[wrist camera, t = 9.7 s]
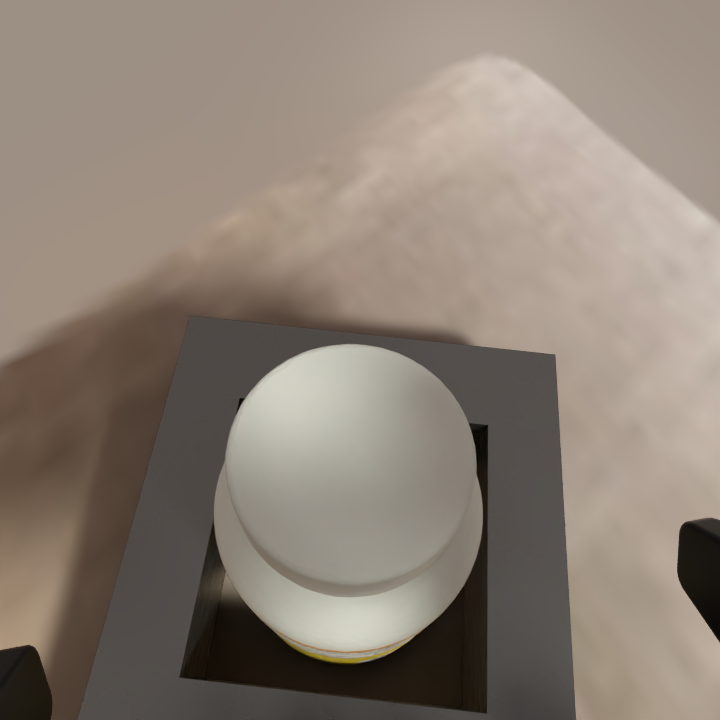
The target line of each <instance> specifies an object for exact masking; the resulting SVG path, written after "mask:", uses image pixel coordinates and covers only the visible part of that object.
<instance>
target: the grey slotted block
mask: <svg viewBox="0 0 720 720" xmlns="http://www.w3.org/2000/svg"><path fill="white" fill-rule="evenodd" d="M342 344H360V345H369V346H374V347H380V348H384V349H387V350H390V351H393V352H396V353H399V354H401V355H403V356H405V357H408V358H410V359H412V360H413V361H415V362H416V363H418V364H420V365H422V366H423V367H425V368H426V369H427V370H428V371H430V372H431V373H432V374H434V375H435V376H436V377H437V378H438V379H439V380H440V381H441V382H442V383H443V384H444V385H445V386H446V387H447V388H448V389H449V391H450V392H451V393H452V394H453V396H454V397H455V399H456V400H457V402H458V403H459V405H460V406H461V408H462V410H463V412H464V414H465V416H466V418H467V421H468V423H469V426H470V429H471V432H472V436H473V440H474V444H475V450H476V463H477V467H476V475H477V478H478V481H479V486H480V490H481V496H482V504H483V526H482V535H481V541H480V545H479V549H478V554H477V557H476V560H475V562H474V565H473V567H472V570H471V572H470V574H469V576H468V578H467V580H466V582H465V608H464V659H463V709H461V708H452V707H444V706H435V705H427V704H418V703H410V702H401V701H393V700H384V699H376V698H367V697H359V696H350V695H342V694H333V693H324V692H316V691H307V690H299V689H290V688H282V687H273V686H265V685H256V684H248V683H239V682H231V681H222V680H214V679H205V673H206V668H207V663H208V658H209V653H210V648H211V643H212V638H213V633H214V628H215V623H216V618H217V613H218V608H219V603H220V598H221V592H222V587H223V582H224V577H225V572H226V570H225V568H224V565H223V563H222V560H221V557H220V553H219V549H218V546H217V541H216V536H215V527H214V502H215V493H216V488H217V483H218V479H219V476H220V473H221V470H222V467H223V465H224V462H225V453H226V448H227V443H228V437H229V433H230V429H231V426H232V424H233V421H234V419H235V417H236V414H237V412H238V410H239V408H240V406H241V404H242V403H243V401H244V400H245V398H246V397H247V395H248V394H249V393H250V392H251V390H252V389H253V388H254V387H255V386H256V384H257V383H258V382H259V381H260V380H261V379H262V378H263V377H264V376H265V375H266V374H268V373H269V372H270V371H272V370H273V369H274V368H276V367H277V366H278V365H280V364H282V363H283V362H285V361H286V360H288V359H290V358H292V357H294V356H296V355H299V354H301V353H303V352H306V351H309V350H312V349H316V348H320V347H325V346H332V345H342ZM78 720H576V713H575V695H574V677H573V659H572V642H571V624H570V606H569V589H568V571H567V553H566V535H565V518H564V500H563V482H562V465H561V447H560V429H559V411H558V394H557V376H556V358H555V355H554V354H545V353H535V352H526V351H517V350H507V349H498V348H489V347H479V346H470V345H461V344H451V343H442V342H433V341H423V340H414V339H405V338H395V337H386V336H376V335H367V334H358V333H348V332H339V331H330V330H320V329H311V328H302V327H292V326H283V325H274V324H264V323H255V322H246V321H236V320H227V319H217V318H208V317H199V316H190V318H189V321H188V325H187V328H186V332H185V336H184V339H183V343H182V346H181V350H180V354H179V357H178V361H177V364H176V368H175V372H174V375H173V379H172V382H171V386H170V390H169V393H168V397H167V400H166V404H165V407H164V411H163V415H162V418H161V422H160V425H159V429H158V433H157V436H156V440H155V443H154V447H153V451H152V454H151V458H150V461H149V465H148V468H147V472H146V476H145V479H144V483H143V486H142V490H141V494H140V497H139V501H138V504H137V508H136V512H135V515H134V519H133V522H132V526H131V530H130V533H129V537H128V540H127V544H126V547H125V551H124V555H123V558H122V562H121V565H120V569H119V573H118V576H117V580H116V583H115V587H114V591H113V594H112V598H111V601H110V605H109V608H108V612H107V616H106V619H105V623H104V626H103V630H102V634H101V637H100V641H99V644H98V648H97V652H96V655H95V659H94V662H93V666H92V670H91V673H90V677H89V680H88V684H87V687H86V691H85V695H84V698H83V702H82V705H81V709H80V713H79V716H78Z"/></svg>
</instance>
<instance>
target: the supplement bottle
mask: <svg viewBox="0 0 720 720" xmlns="http://www.w3.org/2000/svg"><path fill="white" fill-rule="evenodd" d="M476 467H477V463H476V450H475V444H474V440H473V436H472V432H471V429H470V426H469V423H468V421H467V418H466V416H465V414H464V412H463V410H462V408H461V406H460V405H459V403H458V402H457V400H456V399H455V397H454V396H453V394H452V393H451V392H450V391H449V389H448V388H447V387H446V386H445V385H444V384H443V383H442V382H441V381H440V380H439V379H438V378H437V377H436V376H435V375H434V374H432V373H431V372H430V371H428V370H427V369H426V368H425V367H423V366H422V365H420V364H418V363H416V362H415V361H413V360H412V359H410V358H408V357H405V356H403V355H401V354H399V353H396V352H393V351H390V350H387V349H384V348H380V347H374V346H369V345H360V344H342V345H332V346H325V347H320V348H316V349H312V350H309V351H306V352H303V353H301V354H299V355H296V356H294V357H292V358H290V359H288V360H286V361H285V362H283V363H282V364H280V365H278V366H277V367H276V368H274V369H273V370H272V371H270V372H269V373H268V374H266V375H265V376H264V377H263V378H262V379H261V380H260V381H259V382H258V383H257V384H256V386H255V387H254V388H253V389H252V390H251V392H250V393H249V394H248V395H247V397H246V398H245V400H244V401H243V403H242V404H241V406H240V408H239V410H238V412H237V414H236V417H235V419H234V421H233V424H232V426H231V429H230V433H229V437H228V443H227V448H226V453H225V462H224V465H223V467H222V470H221V473H220V476H219V479H218V483H217V488H216V493H215V502H214V527H215V536H216V541H217V546H218V549H219V553H220V557H221V560H222V563H223V565H224V568H225V570H226V572H227V575H228V577H229V578H230V580H231V582H232V584H233V586H234V587H235V589H236V590H237V592H238V594H239V595H240V597H241V598H242V599H243V600H244V602H245V603H246V604H247V605H248V606H249V608H250V609H251V610H252V611H253V612H254V613H255V614H256V615H257V616H258V617H259V618H260V619H261V620H262V621H263V622H264V623H265V624H266V625H267V626H268V627H270V628H271V629H272V630H273V631H274V632H275V633H276V634H277V635H278V636H279V637H280V638H281V639H282V640H284V641H285V642H286V643H287V644H288V645H289V646H290V647H291V648H293V649H294V650H296V651H298V652H299V653H301V654H303V655H305V656H307V657H309V658H312V659H315V660H318V661H321V662H324V663H329V664H337V665H355V664H361V663H366V662H371V661H374V660H377V659H379V658H382V657H384V656H386V655H388V654H390V653H392V652H393V651H395V650H397V649H398V648H400V647H401V646H402V645H404V644H405V643H407V642H408V641H409V640H411V639H412V638H413V637H414V636H415V635H417V634H418V633H419V632H421V631H422V630H423V629H425V628H426V627H427V626H428V625H429V624H431V623H432V622H433V621H434V620H435V619H436V618H437V617H439V616H440V615H441V614H442V613H443V612H444V611H445V610H446V608H447V607H448V606H449V605H450V604H451V603H452V601H453V600H454V599H455V598H456V596H457V595H458V593H459V592H460V590H461V589H462V587H463V586H464V584H465V582H466V580H467V578H468V576H469V574H470V572H471V570H472V567H473V565H474V562H475V560H476V557H477V554H478V549H479V545H480V541H481V535H482V526H483V504H482V496H481V490H480V486H479V481H478V478H477V475H476Z"/></svg>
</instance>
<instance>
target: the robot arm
mask: <svg viewBox="0 0 720 720" xmlns="http://www.w3.org/2000/svg"><path fill="white" fill-rule="evenodd" d="M677 573H678V578H679V581H680V583H681V585H682V587H683V589H684V591H685V592H686V594H687V595H688V597H689V598H690V599H691V601H692V602H693V604H694V605H695V607H696V608H697V610H698V611H699V613H700V614H701V616H702V617H703V618H704V620H705V621H706V623H707V624H708V626H709V627H710V629H711V630H712V632H713V633H714V635H715V636H716V637H717V639H718V640H719V642H720V520H718V519H714V518H703V519H698V520H693V521H687V522H685V523H684V524H683V525H682V526H681V528H680V532H679V547H678V564H677ZM51 715H52V696H51V692H50V688H49V685H48V682H47V679H46V676H45V672H44V669H43V666H42V663H41V660H40V656H39V654H38V652H37V650H36V649H35V647H33V646H30V645H25V646H20V647H14V648H9V649H4V650H0V720H51Z"/></svg>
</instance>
